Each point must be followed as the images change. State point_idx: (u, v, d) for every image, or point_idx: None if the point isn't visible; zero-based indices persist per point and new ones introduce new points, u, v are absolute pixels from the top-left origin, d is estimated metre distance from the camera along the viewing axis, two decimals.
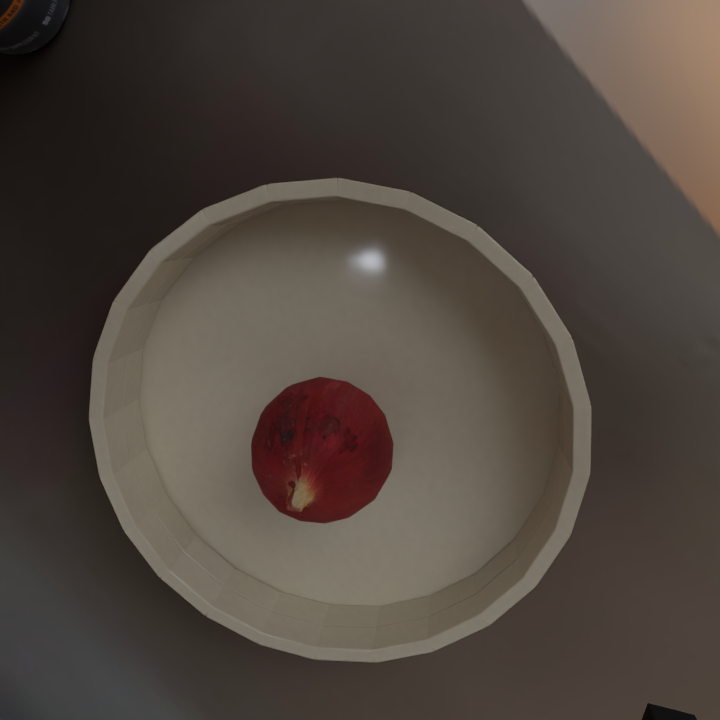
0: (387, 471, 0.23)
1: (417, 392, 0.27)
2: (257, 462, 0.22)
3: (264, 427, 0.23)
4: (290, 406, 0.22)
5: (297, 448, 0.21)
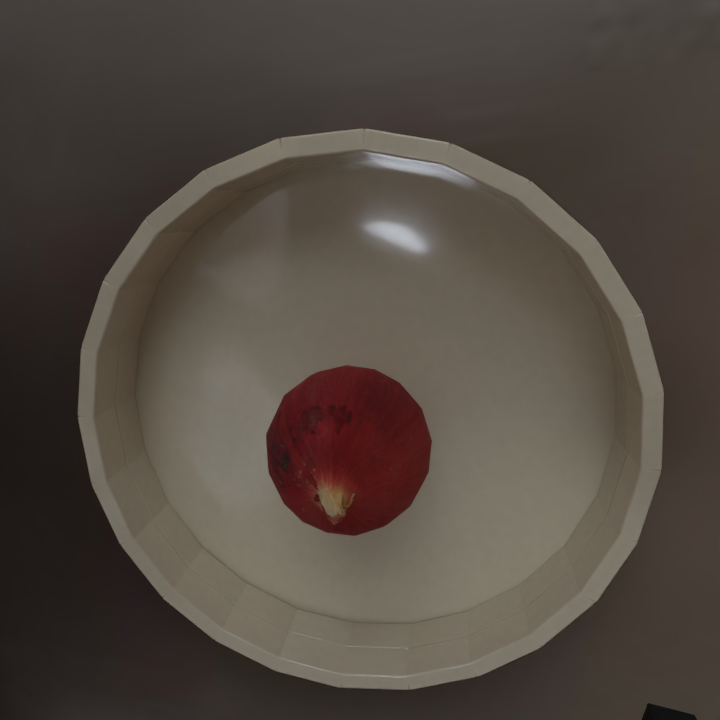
0: (412, 413, 0.19)
1: (399, 328, 0.23)
2: (289, 508, 0.19)
3: (271, 472, 0.20)
4: (273, 434, 0.19)
5: (298, 462, 0.18)
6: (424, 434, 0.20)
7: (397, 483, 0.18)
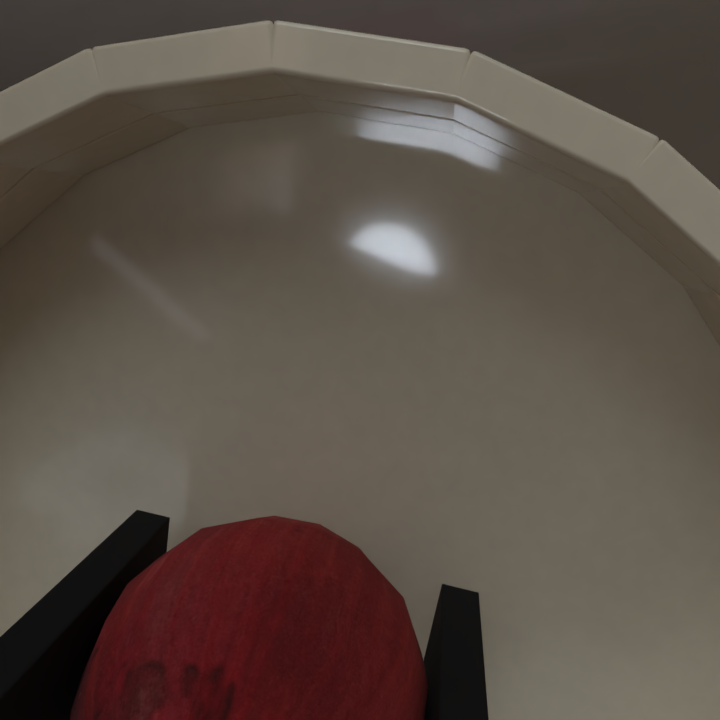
0: (385, 652, 0.09)
1: (371, 424, 0.13)
2: None
3: None
4: (79, 698, 0.09)
5: None
6: (411, 692, 0.09)
7: None
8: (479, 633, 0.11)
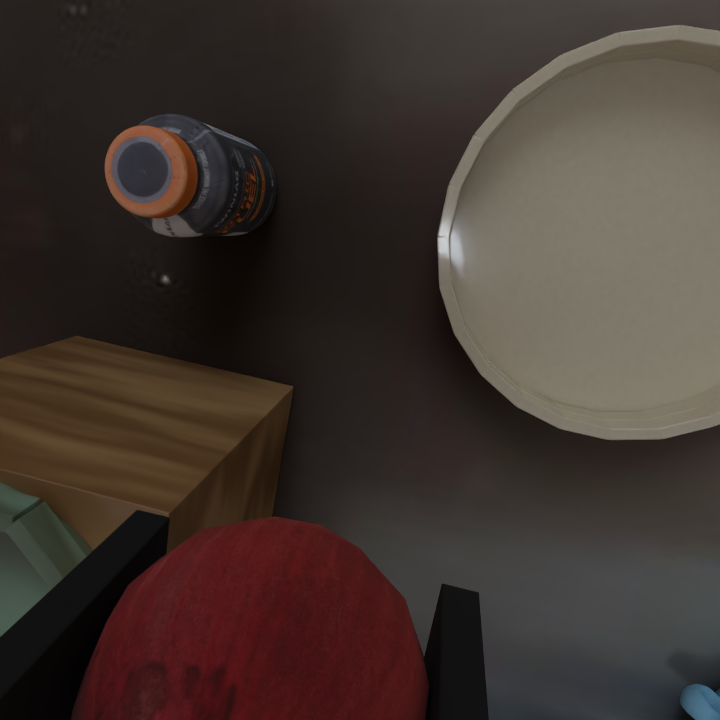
0: (386, 653, 0.09)
1: (660, 181, 0.33)
2: None
3: None
4: (80, 699, 0.09)
5: None
6: (413, 693, 0.09)
7: None
8: (479, 633, 0.11)
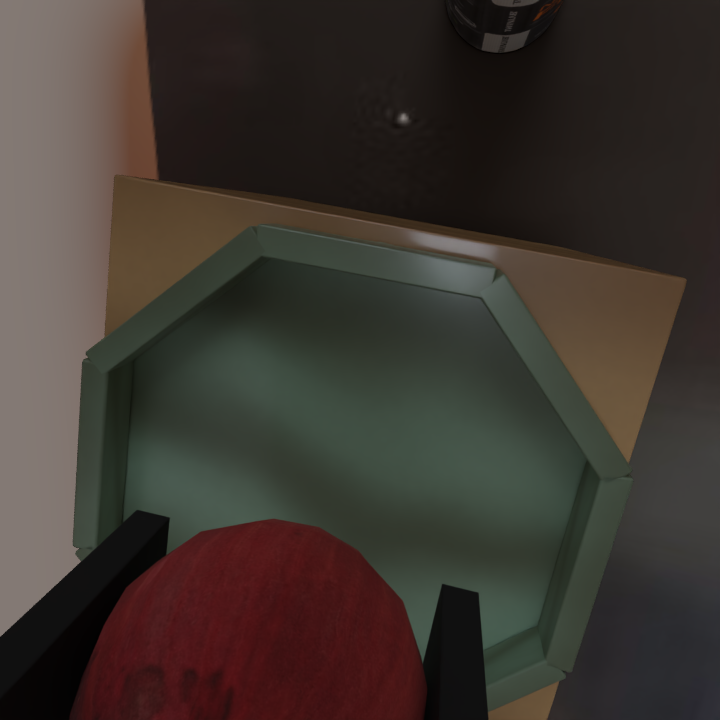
0: (384, 656, 0.09)
1: None
2: None
3: None
4: (78, 702, 0.09)
5: None
6: (410, 696, 0.09)
7: None
8: (479, 633, 0.11)
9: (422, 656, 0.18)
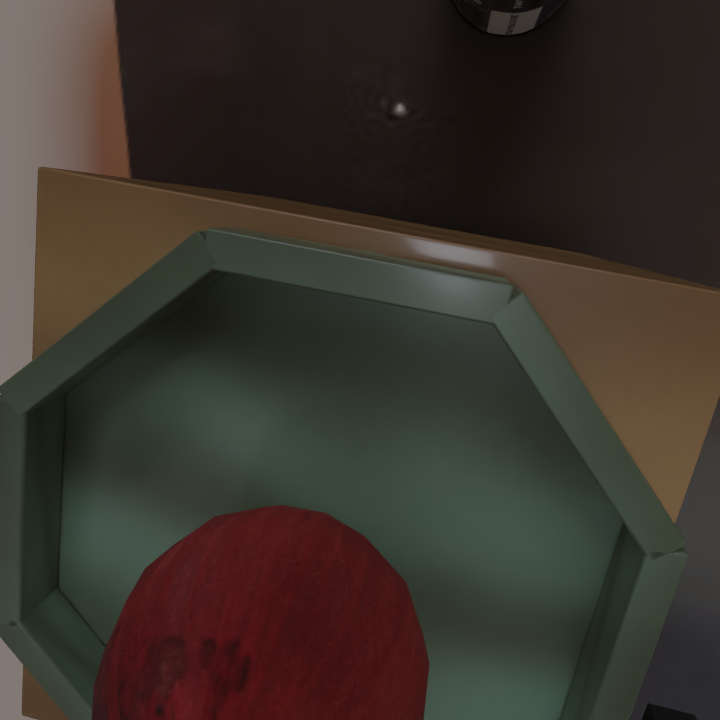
0: (389, 630, 0.09)
1: None
2: None
3: None
4: (102, 673, 0.09)
5: None
6: (414, 668, 0.10)
7: None
8: None
9: None
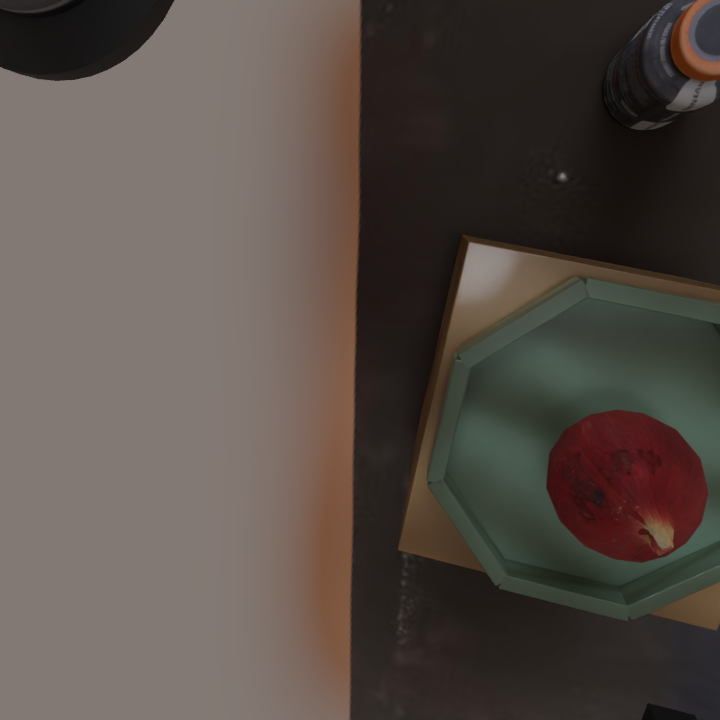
0: (696, 455, 0.22)
1: None
2: (590, 537, 0.22)
3: (568, 505, 0.22)
4: (574, 472, 0.22)
5: (618, 499, 0.21)
6: (703, 474, 0.22)
7: (696, 518, 0.21)
8: None
9: None
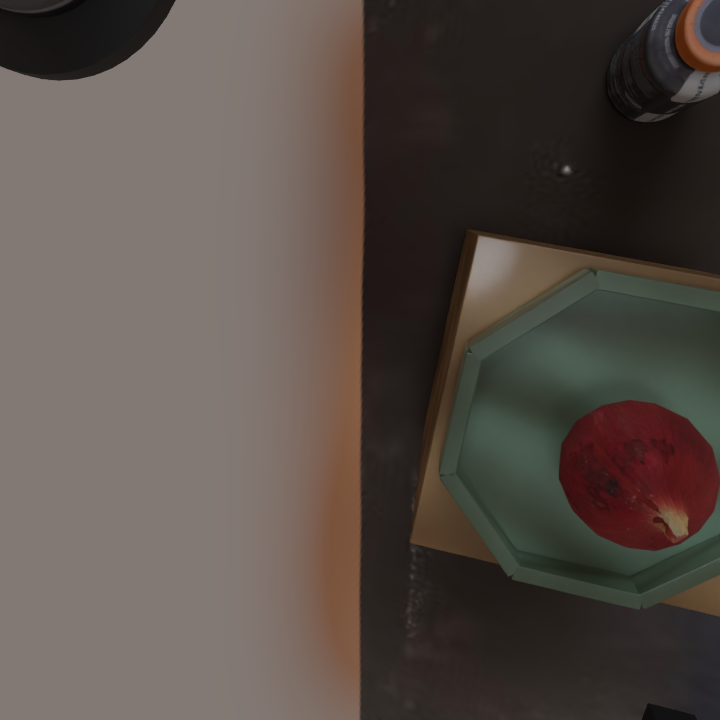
0: (708, 444, 0.22)
1: None
2: (604, 527, 0.22)
3: (582, 496, 0.23)
4: (587, 462, 0.22)
5: (632, 489, 0.21)
6: None
7: (710, 506, 0.21)
8: None
9: None
